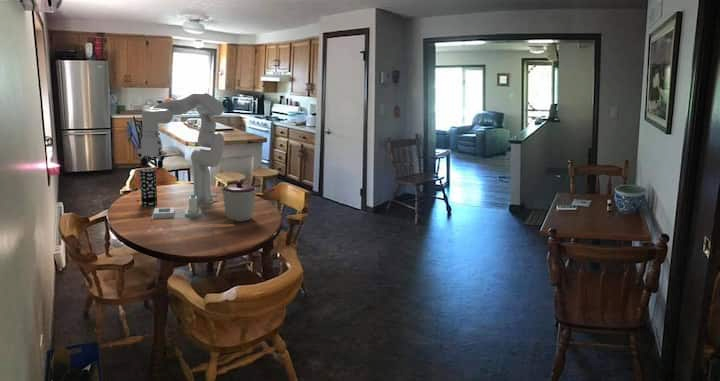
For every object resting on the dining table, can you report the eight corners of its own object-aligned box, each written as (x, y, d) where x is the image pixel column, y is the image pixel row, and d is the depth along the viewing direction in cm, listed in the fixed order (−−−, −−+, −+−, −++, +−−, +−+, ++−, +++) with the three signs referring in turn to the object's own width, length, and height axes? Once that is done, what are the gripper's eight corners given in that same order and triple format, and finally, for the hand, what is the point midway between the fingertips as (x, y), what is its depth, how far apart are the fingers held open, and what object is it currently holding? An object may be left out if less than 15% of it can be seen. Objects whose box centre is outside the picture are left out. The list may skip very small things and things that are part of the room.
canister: (226, 225, 271) (225, 185, 266) (218, 216, 286) (217, 178, 282) (261, 222, 279) (261, 182, 274) (251, 213, 294) (251, 176, 290)
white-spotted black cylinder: (151, 207, 299) (150, 172, 294) (138, 205, 300) (136, 171, 296) (160, 203, 307) (158, 169, 302) (147, 202, 308) (145, 168, 304)
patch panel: (203, 212, 292) (203, 205, 291) (204, 219, 279) (204, 212, 278) (153, 214, 284) (153, 207, 284) (151, 221, 271) (151, 214, 270)
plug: (197, 212, 287) (196, 193, 285) (197, 215, 281) (196, 196, 279) (189, 212, 286) (188, 194, 284) (189, 215, 280) (188, 196, 278)
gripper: (169, 134, 272) (171, 167, 276) (141, 132, 277) (143, 164, 281) (160, 136, 265) (162, 169, 269) (131, 133, 270) (133, 167, 274)
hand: (152, 167), depth 275 cm, fingers open, 9 cm apart
